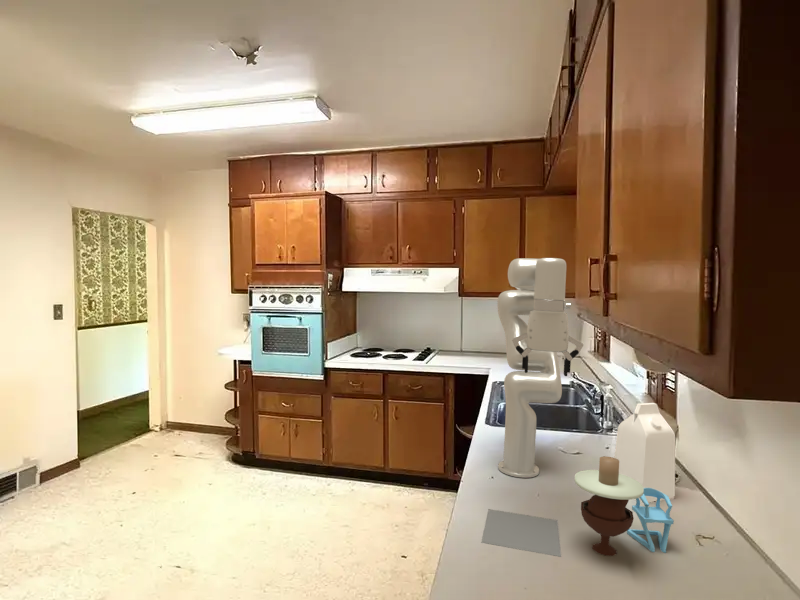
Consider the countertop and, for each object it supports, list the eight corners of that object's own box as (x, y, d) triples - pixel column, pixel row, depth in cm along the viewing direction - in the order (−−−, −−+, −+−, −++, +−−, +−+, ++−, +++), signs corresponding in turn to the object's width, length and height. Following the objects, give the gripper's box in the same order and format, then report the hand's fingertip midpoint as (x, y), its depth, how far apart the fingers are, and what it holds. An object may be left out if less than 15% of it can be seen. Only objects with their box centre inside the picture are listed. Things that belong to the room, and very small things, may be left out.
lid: (572, 469, 115) (573, 445, 115) (636, 478, 112) (637, 453, 111) (577, 493, 102) (578, 466, 102) (650, 504, 98) (651, 475, 98)
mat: (488, 511, 125) (488, 508, 125) (557, 522, 120) (557, 520, 120) (481, 544, 108) (481, 542, 108) (560, 559, 104) (561, 556, 104)
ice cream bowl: (586, 533, 115) (590, 471, 115) (637, 551, 108) (641, 485, 107) (570, 551, 107) (574, 485, 106) (624, 572, 100) (628, 501, 99)
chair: (641, 551, 108) (644, 499, 108) (626, 532, 116) (629, 483, 116) (676, 554, 108) (680, 501, 107) (658, 534, 116) (662, 485, 116)
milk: (642, 482, 147) (647, 398, 146) (674, 499, 136) (680, 408, 135) (610, 486, 143) (615, 399, 143) (641, 503, 133) (646, 410, 132)
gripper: (583, 308, 124) (580, 374, 125) (514, 304, 129) (511, 368, 129) (586, 309, 117) (582, 379, 117) (513, 305, 121) (510, 373, 122)
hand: (545, 373), depth 123 cm, fingers open, 9 cm apart
